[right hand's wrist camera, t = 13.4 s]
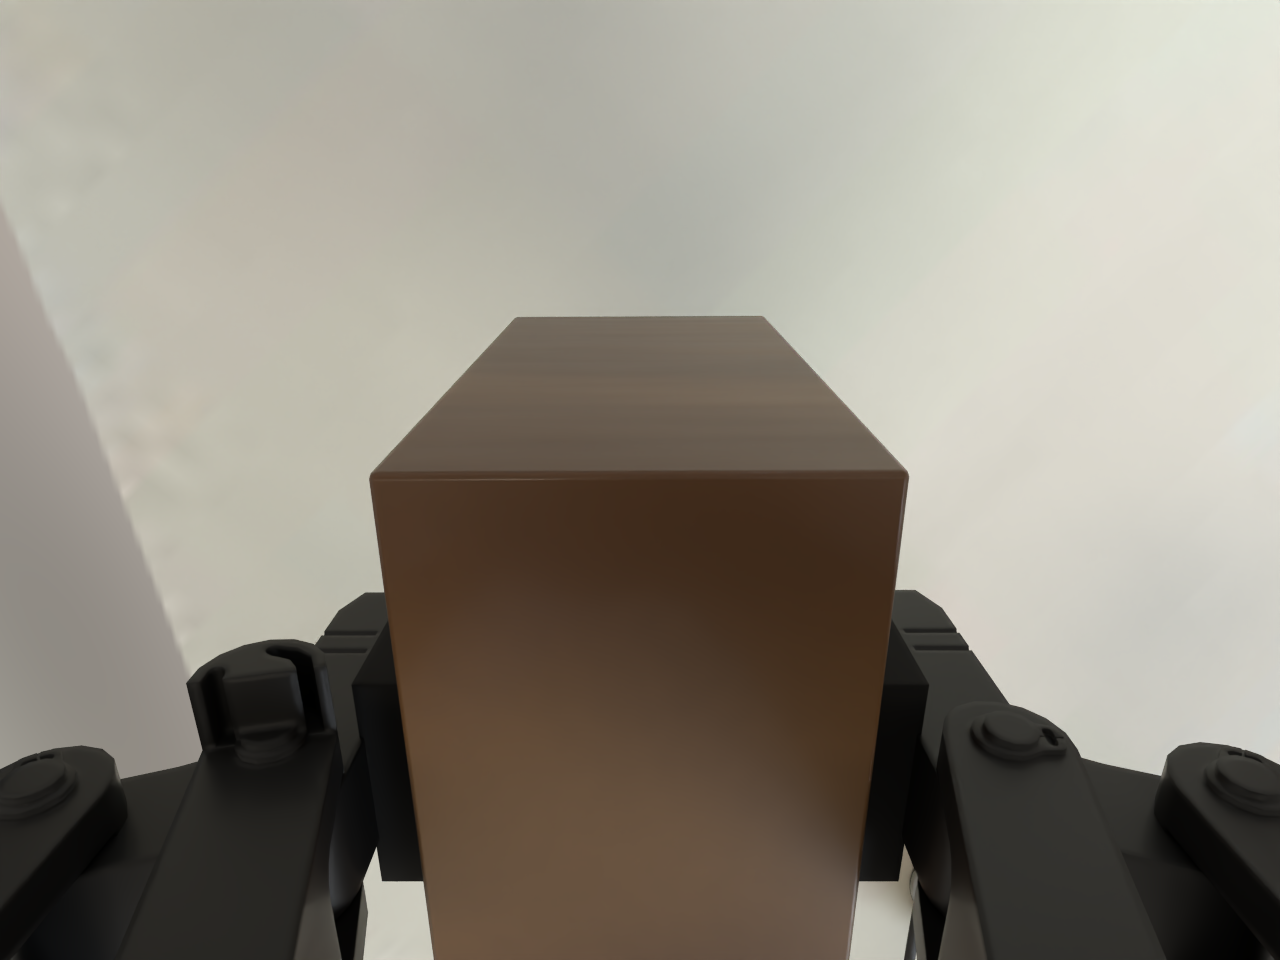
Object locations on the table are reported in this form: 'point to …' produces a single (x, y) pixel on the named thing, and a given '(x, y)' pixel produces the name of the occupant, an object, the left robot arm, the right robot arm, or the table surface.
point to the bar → (640, 642)
